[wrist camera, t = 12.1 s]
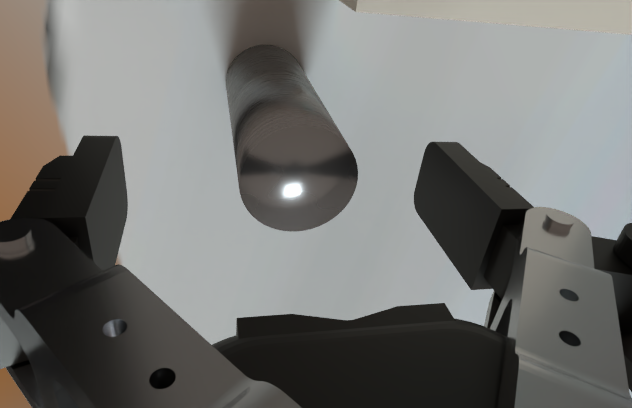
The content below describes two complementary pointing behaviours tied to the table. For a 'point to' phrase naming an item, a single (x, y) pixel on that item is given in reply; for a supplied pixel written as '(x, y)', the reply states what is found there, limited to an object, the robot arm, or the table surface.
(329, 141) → the peg
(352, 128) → the table surface
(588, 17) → the board
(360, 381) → the robot arm
